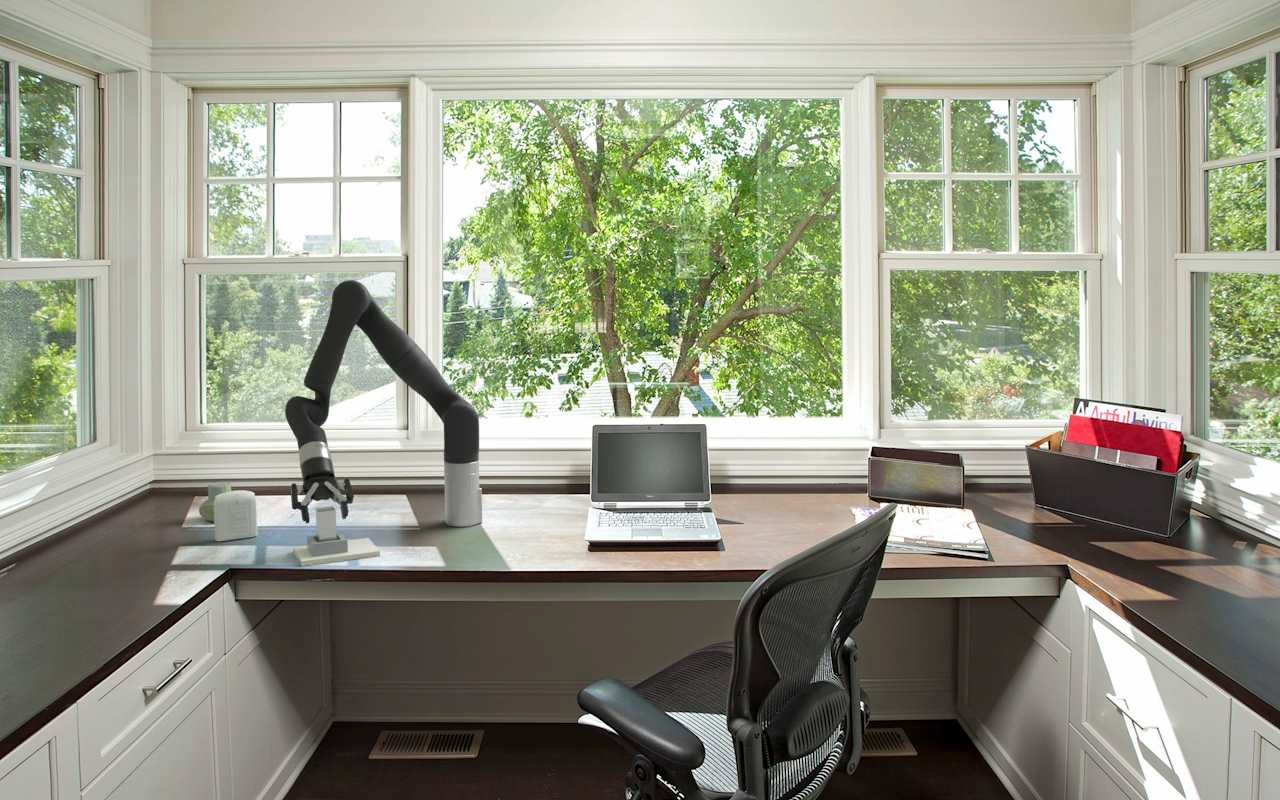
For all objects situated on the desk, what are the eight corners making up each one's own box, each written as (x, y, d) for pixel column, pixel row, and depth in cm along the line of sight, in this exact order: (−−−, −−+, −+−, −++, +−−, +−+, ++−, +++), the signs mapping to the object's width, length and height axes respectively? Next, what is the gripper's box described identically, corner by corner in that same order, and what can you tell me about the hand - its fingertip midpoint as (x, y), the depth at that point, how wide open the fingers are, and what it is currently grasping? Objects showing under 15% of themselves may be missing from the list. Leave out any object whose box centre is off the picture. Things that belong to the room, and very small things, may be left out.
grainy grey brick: (334, 546, 236) (332, 506, 235) (337, 550, 232) (335, 510, 231) (317, 548, 234) (315, 508, 233) (320, 552, 231) (318, 511, 229)
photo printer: (256, 533, 252) (253, 487, 251) (259, 537, 249) (257, 490, 247) (213, 539, 247) (211, 491, 245) (217, 543, 243) (214, 495, 242)
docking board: (368, 542, 244) (367, 526, 244) (379, 555, 233) (379, 538, 232) (293, 551, 236) (292, 535, 235) (301, 566, 224) (300, 548, 224)
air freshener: (194, 522, 264) (191, 486, 262) (214, 514, 272) (212, 479, 270) (228, 524, 261) (226, 488, 260) (248, 517, 269) (246, 482, 268)
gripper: (287, 458, 234) (296, 514, 226) (347, 453, 241) (358, 507, 232) (285, 475, 240) (294, 531, 231) (344, 470, 246) (355, 524, 238)
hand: (326, 519), depth 232 cm, fingers open, 8 cm apart
